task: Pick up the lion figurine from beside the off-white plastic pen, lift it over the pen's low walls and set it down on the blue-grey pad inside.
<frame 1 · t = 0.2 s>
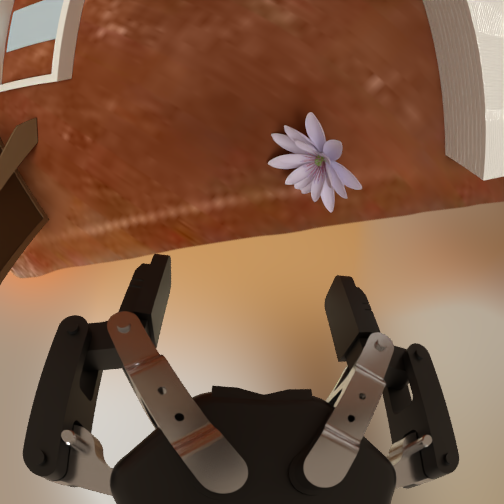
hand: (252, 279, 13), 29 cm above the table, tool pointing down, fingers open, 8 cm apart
stack of papers: (458, 64, 28), on the table
water lily: (302, 151, 38), on the table
photo frame: (29, 165, 36), on the table
low pen: (37, 22, 21), on the table
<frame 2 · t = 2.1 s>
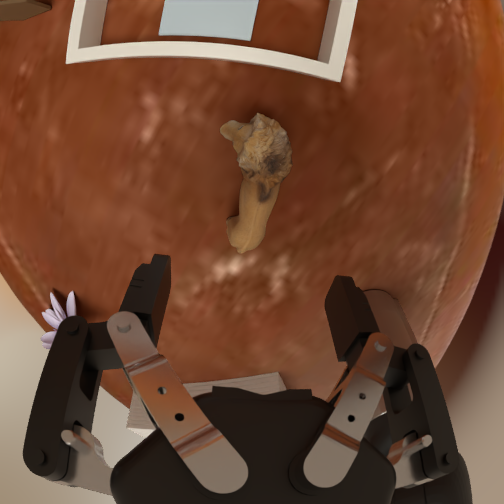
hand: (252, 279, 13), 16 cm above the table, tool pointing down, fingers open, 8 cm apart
stack of papers: (209, 391, 54), on the table
water lily: (73, 309, 39), on the table
lion figurine: (249, 172, 27), on the table
photo frame: (5, 9, 11), on the table
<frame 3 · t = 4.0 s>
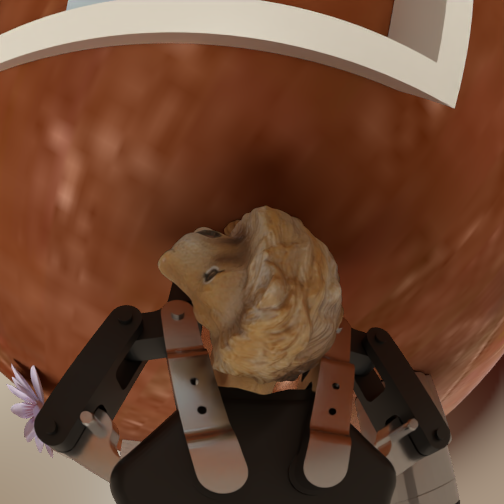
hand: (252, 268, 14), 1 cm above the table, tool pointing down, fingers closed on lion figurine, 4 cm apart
water lily: (40, 378, 27), on the table
lion figurine: (245, 267, 16), on the table, touching gripper
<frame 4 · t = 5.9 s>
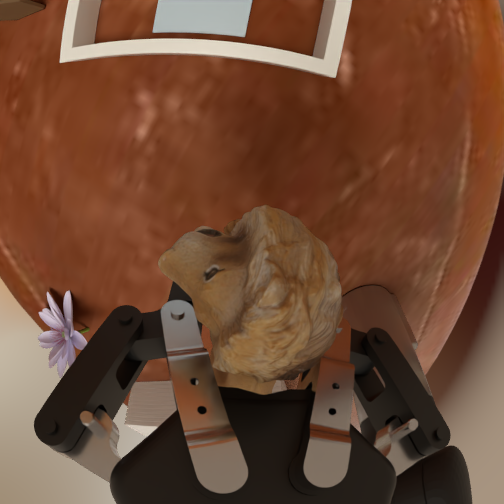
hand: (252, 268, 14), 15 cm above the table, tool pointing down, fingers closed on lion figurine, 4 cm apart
stack of papers: (208, 387, 54), on the table
water lily: (69, 308, 39), on the table
lion figurine: (245, 266, 16), point 14 cm above the table, touching gripper
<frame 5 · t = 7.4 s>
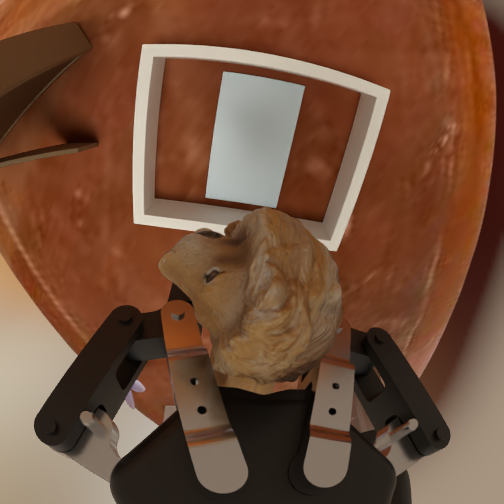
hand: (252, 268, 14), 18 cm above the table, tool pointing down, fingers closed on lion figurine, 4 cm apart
water lily: (122, 357, 52), on the table
lion figurine: (245, 267, 16), point 17 cm above the table, touching gripper
photo frame: (42, 123, 24), on the table
low pen: (251, 141, 28), on the table
when the fingers open (3 cm above the table, at t = 11.1 s): lion figurine drops 1 cm, resting on low pen.
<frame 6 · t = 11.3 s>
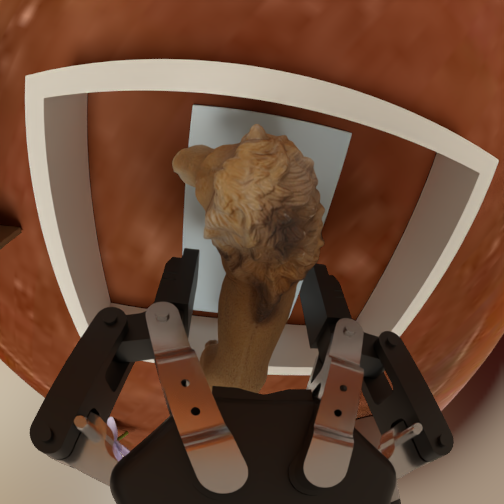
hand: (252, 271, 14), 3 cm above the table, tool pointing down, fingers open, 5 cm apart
water lily: (110, 421, 41), on the table
lion figurine: (242, 268, 17), point 1 cm above the table, touching low pen
low pen: (251, 232, 17), on the table
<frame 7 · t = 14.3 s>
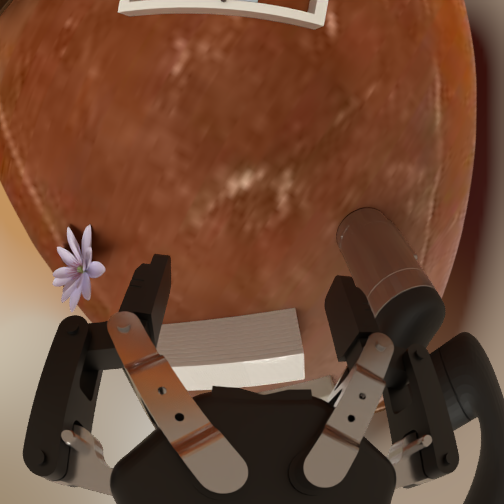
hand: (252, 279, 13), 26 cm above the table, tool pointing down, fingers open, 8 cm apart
stack of papers: (221, 332, 59), on the table
water lily: (86, 246, 43), on the table
box: (304, 398, 86), on the table
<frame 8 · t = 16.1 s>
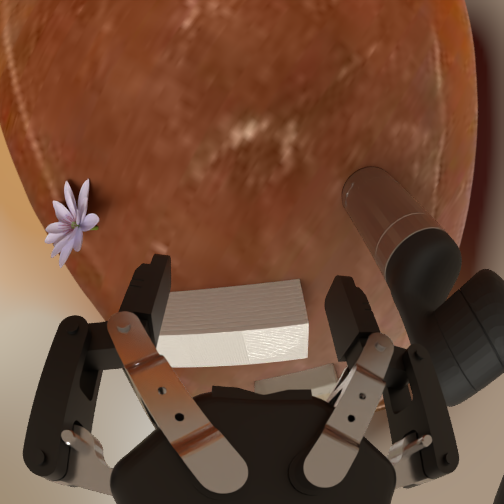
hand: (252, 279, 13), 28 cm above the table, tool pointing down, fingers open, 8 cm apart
stack of papers: (219, 305, 56), on the table
water lily: (83, 203, 41), on the table
box: (304, 390, 82), on the table
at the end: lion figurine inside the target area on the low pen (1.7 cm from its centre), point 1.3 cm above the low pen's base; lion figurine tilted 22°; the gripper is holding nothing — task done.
